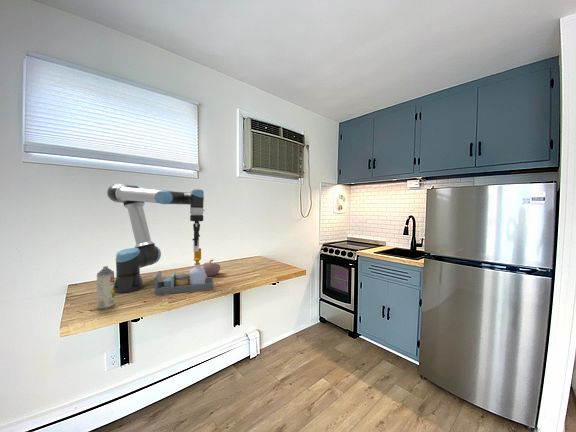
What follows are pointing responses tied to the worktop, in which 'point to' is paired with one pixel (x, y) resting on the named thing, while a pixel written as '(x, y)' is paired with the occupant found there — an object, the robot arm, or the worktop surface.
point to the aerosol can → (105, 288)
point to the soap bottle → (197, 271)
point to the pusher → (170, 281)
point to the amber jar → (182, 280)
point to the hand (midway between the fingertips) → (196, 249)
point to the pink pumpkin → (211, 268)
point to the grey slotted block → (178, 289)
